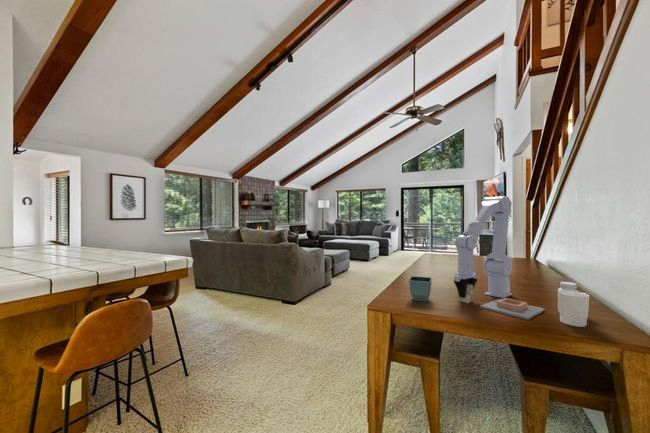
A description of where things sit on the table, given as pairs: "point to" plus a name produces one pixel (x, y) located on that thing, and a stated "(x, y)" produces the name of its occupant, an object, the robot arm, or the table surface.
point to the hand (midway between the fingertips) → (465, 296)
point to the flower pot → (420, 288)
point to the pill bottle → (566, 286)
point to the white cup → (573, 307)
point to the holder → (513, 308)
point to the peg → (467, 294)
